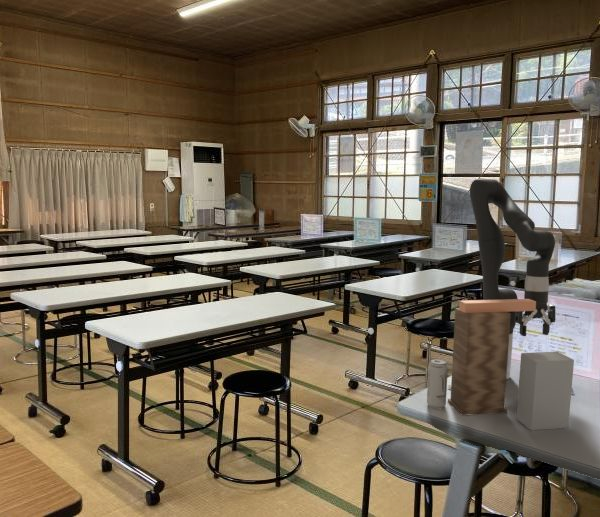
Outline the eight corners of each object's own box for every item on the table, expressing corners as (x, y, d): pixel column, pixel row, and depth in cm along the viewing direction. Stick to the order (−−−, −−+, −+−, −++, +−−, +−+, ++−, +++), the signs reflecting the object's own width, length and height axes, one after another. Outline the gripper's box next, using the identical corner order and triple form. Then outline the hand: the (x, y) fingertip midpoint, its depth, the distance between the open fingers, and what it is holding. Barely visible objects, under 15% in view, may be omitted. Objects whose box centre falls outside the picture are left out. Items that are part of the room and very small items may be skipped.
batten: (464, 312, 172) (465, 303, 171) (458, 309, 175) (459, 300, 175) (535, 310, 176) (536, 301, 175) (528, 307, 180) (528, 298, 179)
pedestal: (461, 415, 173) (467, 315, 168) (447, 402, 183) (452, 307, 178) (506, 412, 176) (513, 313, 171) (490, 399, 186) (496, 306, 181)
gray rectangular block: (531, 430, 163) (536, 361, 160) (516, 418, 171) (521, 353, 168) (568, 427, 165) (574, 359, 162) (551, 416, 173) (557, 351, 170)
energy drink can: (439, 411, 176) (442, 365, 174) (423, 406, 180) (425, 361, 178) (449, 405, 180) (451, 361, 178) (432, 400, 184) (434, 357, 182)
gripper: (547, 286, 195) (545, 331, 197) (511, 287, 192) (509, 333, 194) (562, 290, 188) (559, 336, 190) (524, 291, 185) (522, 338, 187)
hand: (534, 335), depth 192 cm, fingers open, 8 cm apart
